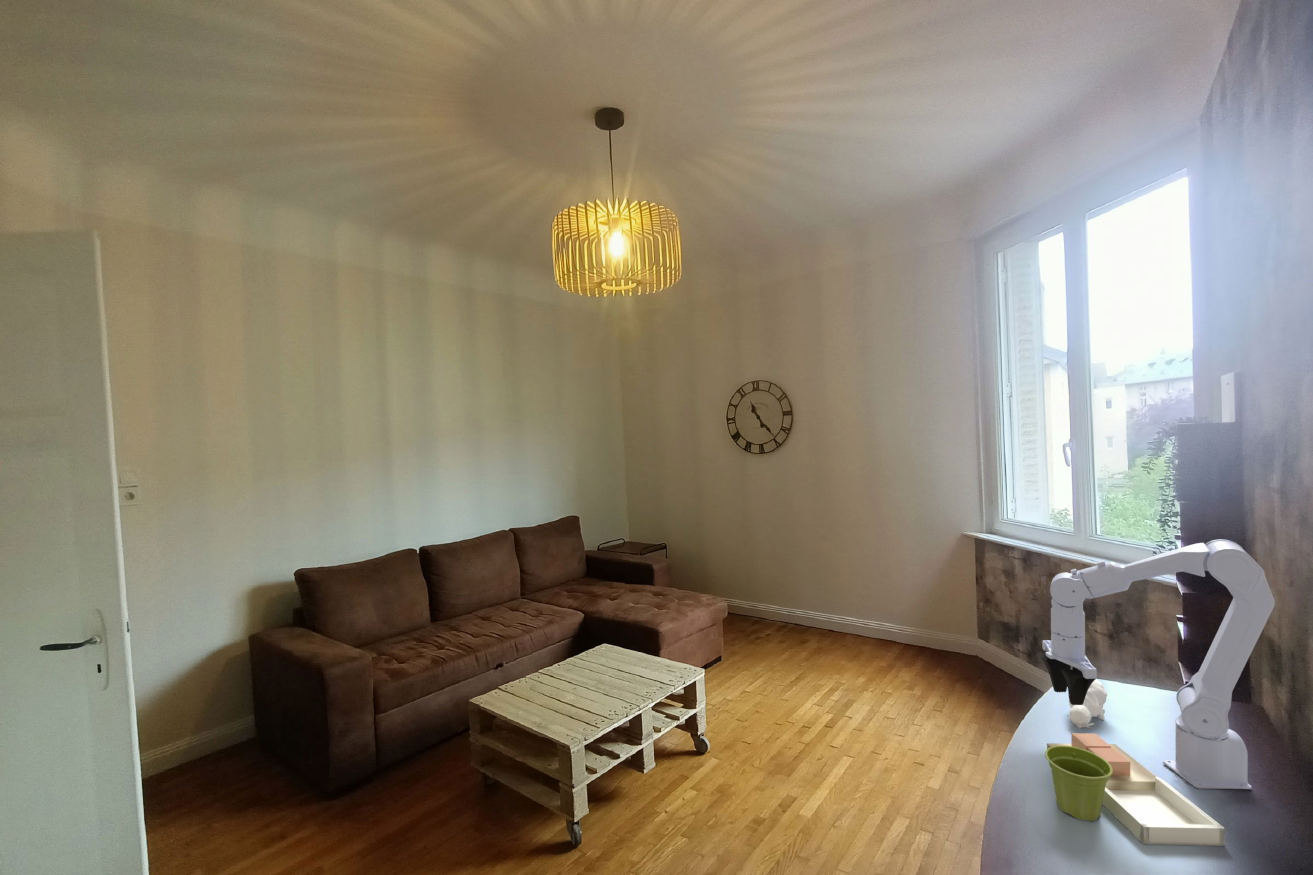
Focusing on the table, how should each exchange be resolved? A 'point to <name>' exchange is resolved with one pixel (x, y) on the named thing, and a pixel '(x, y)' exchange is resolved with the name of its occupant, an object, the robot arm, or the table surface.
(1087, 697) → the white figurine
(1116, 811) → the tray
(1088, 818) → the plant pot
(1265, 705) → the table surface
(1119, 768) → the tile
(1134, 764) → the thin cream square panel
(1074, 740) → the tile
